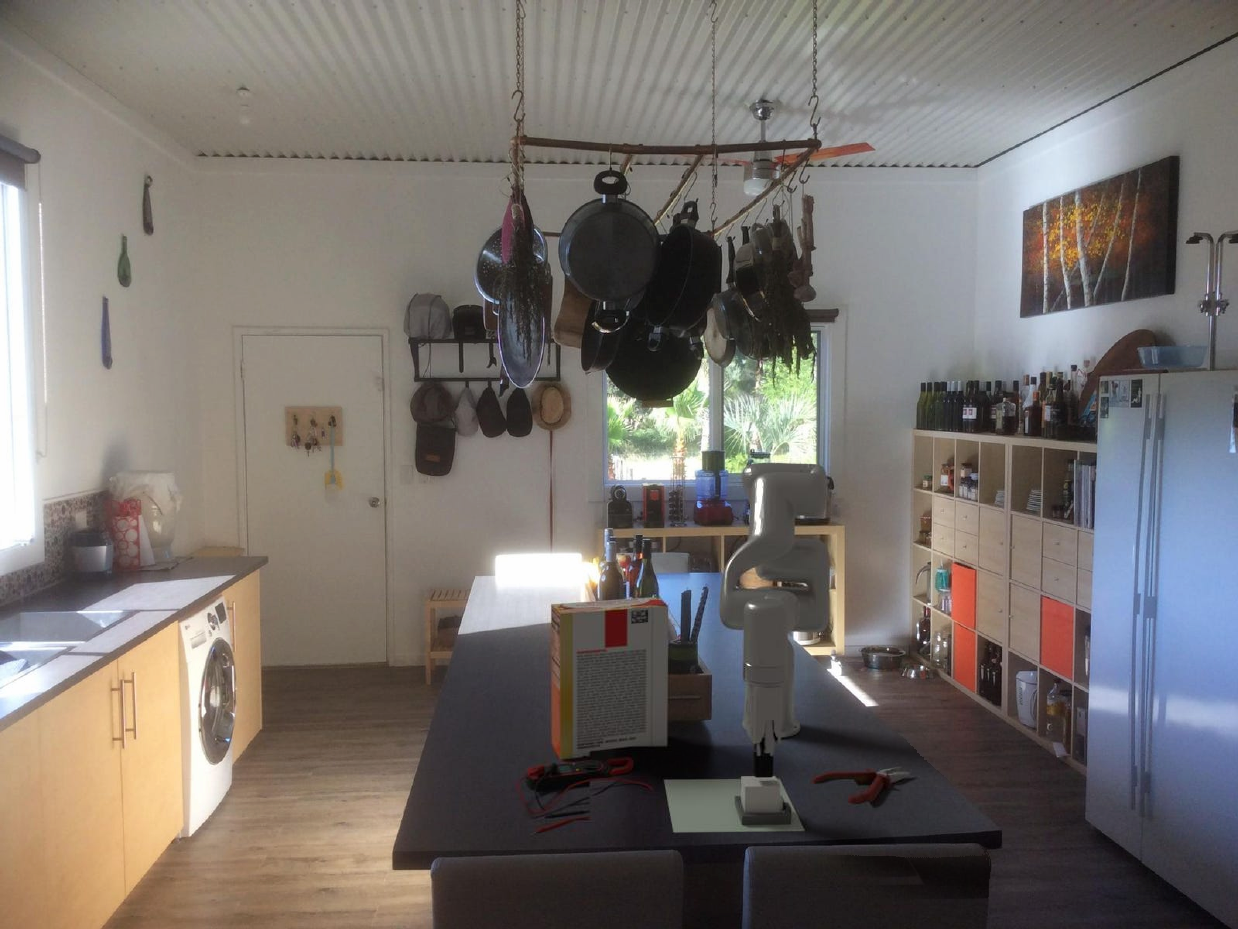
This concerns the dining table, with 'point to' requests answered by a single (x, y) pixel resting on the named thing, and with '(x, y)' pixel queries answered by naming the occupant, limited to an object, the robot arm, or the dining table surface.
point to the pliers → (868, 781)
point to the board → (715, 807)
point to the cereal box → (608, 675)
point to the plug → (760, 795)
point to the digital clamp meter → (573, 780)
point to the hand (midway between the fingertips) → (762, 775)
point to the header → (764, 815)
